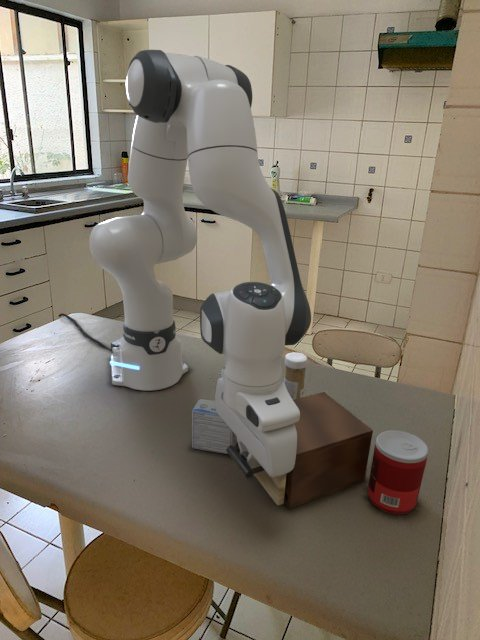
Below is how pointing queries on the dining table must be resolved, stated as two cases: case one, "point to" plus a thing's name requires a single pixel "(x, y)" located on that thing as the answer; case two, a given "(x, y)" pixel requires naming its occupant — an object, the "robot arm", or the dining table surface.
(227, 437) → the medicine box
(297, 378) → the sprinkles bottle
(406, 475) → the canned food
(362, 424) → the cabinet
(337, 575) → the dining table surface
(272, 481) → the drawer
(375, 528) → the dining table surface
